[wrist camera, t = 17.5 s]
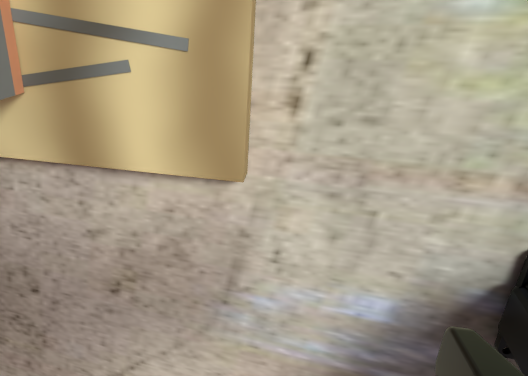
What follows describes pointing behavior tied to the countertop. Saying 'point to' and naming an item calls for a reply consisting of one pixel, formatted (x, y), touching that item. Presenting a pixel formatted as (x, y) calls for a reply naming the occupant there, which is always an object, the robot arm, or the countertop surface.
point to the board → (133, 85)
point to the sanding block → (8, 55)
